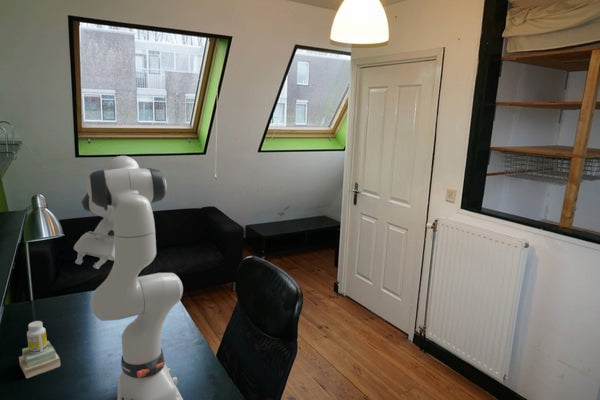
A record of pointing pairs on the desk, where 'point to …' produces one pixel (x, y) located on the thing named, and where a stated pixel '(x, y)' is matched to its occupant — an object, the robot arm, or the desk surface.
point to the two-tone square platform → (39, 361)
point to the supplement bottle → (36, 337)
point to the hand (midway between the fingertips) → (86, 265)
